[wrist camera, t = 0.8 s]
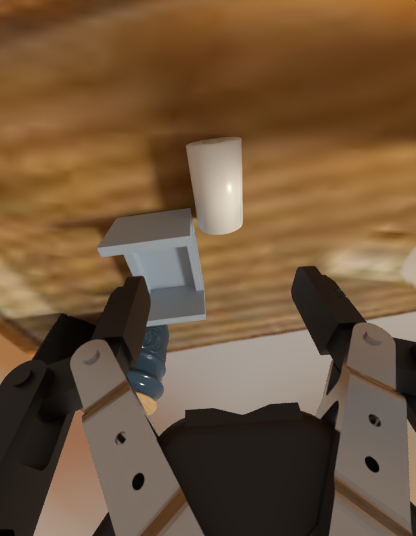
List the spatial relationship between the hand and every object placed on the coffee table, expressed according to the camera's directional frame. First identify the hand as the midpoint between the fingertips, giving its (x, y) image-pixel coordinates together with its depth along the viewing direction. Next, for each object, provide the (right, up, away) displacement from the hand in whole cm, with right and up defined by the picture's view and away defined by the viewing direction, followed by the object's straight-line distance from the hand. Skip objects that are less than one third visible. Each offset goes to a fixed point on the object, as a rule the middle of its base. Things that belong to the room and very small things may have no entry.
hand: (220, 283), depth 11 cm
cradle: (-7, +3, +21) cm, 22 cm away
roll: (0, +12, +15) cm, 19 cm away
